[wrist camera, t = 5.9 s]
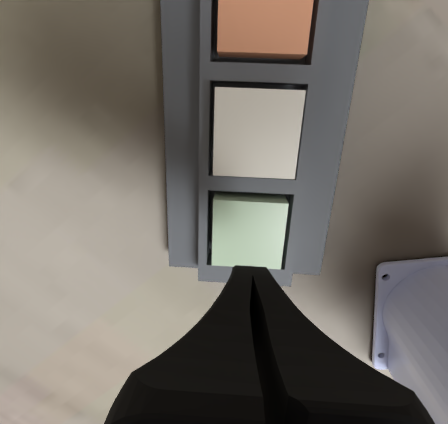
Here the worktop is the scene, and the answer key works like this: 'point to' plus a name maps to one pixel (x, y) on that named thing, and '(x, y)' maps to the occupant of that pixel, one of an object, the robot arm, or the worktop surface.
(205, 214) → the button panel
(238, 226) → the green button
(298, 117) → the cream button
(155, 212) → the worktop surface
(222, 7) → the terracotta button
